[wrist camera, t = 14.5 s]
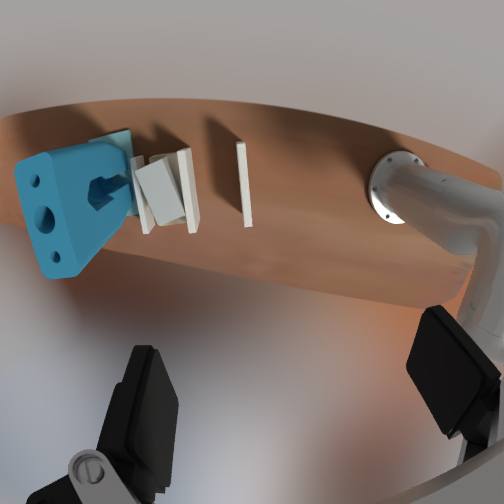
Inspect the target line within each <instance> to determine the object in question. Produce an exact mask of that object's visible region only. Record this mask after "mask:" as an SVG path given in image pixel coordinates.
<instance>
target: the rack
mask: <svg viewBox="0 0 504 504" xmlns="http://www.w3.org/2000/svg"><path fill="white" fill-rule="evenodd" d="M236 150H237V161H238V172H239V182H240V193H241V203H242V214H243V220H244V225H245V227H251V226H252V217H251V205H250V194H249V182H248V171H247V159H246V148H245V143H244V142H243V141H240V142H236ZM177 155H178V163H179V170H180V178H181V185H182V192H183V199H184V205H185V212H186V218H187V224H188V230H189V233H196V232H197V228H198V224H199V221H200V215H199V208H198V201H197V193H196V186H195V178H194V170H193V162H192V154H191V147H189V148H183V149H181V150H179V151H177ZM130 164H131V170H132V176H133V182H134V188H135V194H136V199H137V204H138V210H139V215H140V220H141V224H142V229H143V234H149V232H150V231H151V229H152V228H153V227H154V225H155V223H154V218H153V212H152V210H151V208H150V206H149V204H148V201H147V199H146V197H145V195H144V192H143V190H142V188H141V185H140V183H139V181H138V178H137V176H136V174H135V171H136V170H138V169H140V168H142V167H144V166H145V165H144V158H143V155H141V156H137V157H134V158H131V159H130Z"/></svg>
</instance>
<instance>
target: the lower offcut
mask: <svg viewBox="0 0 504 504" xmlns="http://www.w3.org/2000/svg"><path fill="white" fill-rule="evenodd" d="M164 157H167V159H168V161H169V164H170V166H171V169H172V171H173V174H174V176H175V178H176V181H177V183H178V186H179V188H180V190H181V193H182V195H183V192H182V185H181V178H180V170H179V163H178V155H177V152H172V153H166V154H160V155H154V156H152V157H150V158H149V163H150V164H151V163H153V162H155V161H158V160H160V159H162V158H164ZM181 223H187V218H186V215H185V216H182V217H180V218H177V219H174V220H172V221H170V222H167V223H165V224H162V225H160V226H165V225H173V224H181Z"/></svg>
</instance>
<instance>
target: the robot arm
mask: <svg viewBox="0 0 504 504" xmlns="http://www.w3.org/2000/svg"><path fill="white" fill-rule="evenodd" d="M373 187H374V189H373ZM368 193H369V199H370V203H371V205H372V207H373V209H374V211H375V212H376V213H377V214H378V215H379V216H380V217H381V218H382V219H384V220H385V221H387V222H390V223H394V224H401V223H407V224H408V225H410V226H411V227H413V228H414V229H416V230H417V231H419V232H420V233H422V234H423V235H425V236H426V237H428V238H429V239H431V240H432V241H433V242H435V243H436V244H438V245H439V246H441V247H442V248H444V249H445V250H446V251H448V252H450V253H452V254H455V255H461V256H464V255H471V254H475V253H477V256H476V260H475V263H474V268H473V271H472V274H471V277H470V281H469V283H468V286H467V289H466V291H465V294H464V297H463V299H462V302H461V305H460V308H459V311H458V314H457V318H456V320H455V319H454V318H453V317H452V316H451V315H450V314H449V313H448V312H447V311H446V310H445V309H444V308H443V307H442V306H441V305H436V306H432V307H428V308H426V310H425V312H424V313H423V314H422V316H421V319H420V323H419V326H418V329H417V333H416V336H415V339H414V343H413V346H412V349H411V351H410V354H409V357H408V360H407V363H406V369H407V372H408V374H409V375H410V377H411V379H412V380H413V382H414V384H415V385H416V387H417V389H418V391H419V392H420V394H421V396H422V397H423V399H424V401H425V403H426V404H427V406H428V408H429V409H430V411H431V413H432V415H433V417H434V419H435V421H436V422H437V424H438V426H439V428H440V430H441V432H442V433H443V434H445V435H447V437H448V439H449V440H450V439H452V438H454V437H456V436H457V435H459V434H460V433H462V435H463V441H462V446H461V451H460V454H459V459H458V462H457V466H456V467H455V468H453V469H451V470H449V471H447V472H446V473H443V474H441V475H440V476H437V477H436V478H433V479H431V480H429V481H427V482H425V483H422V484H421V485H418V486H416V487H413V488H411V489H408V490H406V491H404V492H401V493H398V494H396V495H393V496H391V497H388V498H385V499H382V500H380V501H376V502H374V503H370V504H504V377H503V379H502V380H500V379H499V378H500V376H501V373H500V372H499V371H498V369H497V368H496V367H495V365H494V364H493V363H492V362H491V360H492V361H494V362H496V363H498V364H500V365H503V366H504V192H501V191H498V190H494V189H491V188H488V187H484V186H482V185H479V184H476V183H473V182H470V181H468V180H465V179H462V178H459V177H456V176H453V175H451V174H448V173H445V172H442V171H438V170H435V169H432V168H429V167H426V166H425V165H424V163H423V162H422V161H421V160H420V158H418V157H417V156H416V155H414V154H412V153H410V152H406V151H394V152H391V153H389V154H386V155H385V156H384V157H382V158H381V159H380V160H379V161H378V162H377V164H376V165H375V167H374V168H373V170H372V173H371V175H370V179H369V186H368ZM178 406H179V404H178V398H177V396H176V393H175V391H174V388H173V386H172V384H171V381H170V379H169V376H168V374H167V371H166V369H165V366H164V363H163V361H162V358H161V356H160V353H159V351H158V349H154V348H153V347H152V346H151V345H136V346H134V348H133V350H132V353H131V356H130V359H129V363H128V365H127V368H126V371H125V374H124V377H123V380H122V382H120V383H117V384H116V386H115V389H114V391H113V395H112V397H111V401H110V404H109V407H108V410H107V413H106V417H105V420H104V423H103V427H102V430H101V434H100V437H99V441H98V444H97V448H96V450H83V451H80V452H78V453H77V454H76V455H74V456H73V458H72V459H71V461H70V463H69V465H68V473H69V474H67V475H66V476H64V477H62V478H60V479H58V480H57V481H55V482H53V483H51V484H49V485H47V486H45V487H43V488H41V489H40V490H38V491H36V492H34V493H32V494H31V495H30V496H29V497H28V499H27V502H26V504H154V501H155V493H165V487H169V486H170V483H171V473H172V462H173V452H174V442H175V433H176V424H177V415H178Z"/></svg>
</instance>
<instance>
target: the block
mask: <svg viewBox="0 0 504 504" xmlns="http://www.w3.org/2000/svg"><path fill="white" fill-rule="evenodd" d="M128 169H129V166H128V160H127V154H126V152H125V151H124V150H123V149H121V148H119V147H116V146H114V145H112V144H110V143H108V142H106V141H96V142H90V143H84V144H79V145H74V146H69V147H64V148H60V149H55V150H51V151H47V152H42V153H40V154H37V155H34V156H32V157H29V158H27V159H24V160H22V161H20V162H18V163H17V164H16V166H15V171H14V172H15V179H16V184H17V188H18V193H19V197H20V202H21V206H22V210H23V214H24V217H25V221H26V225H27V228H28V232H29V235H30V238H31V241H32V244H33V247H34V250H35V254H36V257H37V259H38V262H39V265H40V268H41V270H42V273H43V274H44V276H45V277H47V278H49V279H56V278H66V277H74V276H77V275H78V274H79V273H80V272H81V270H82V269H83V268H84V267H85V266H86V265H87V263H88V262H89V261H90V260H91V259H92V257H94V255H95V254H96V253H97V252H98V251H99V250H100V249H101V248H102V246H103V245H104V244H105V243H106V242H107V241H108V240H109V239H110V238H111V237H112V236H113V234H114V233H115V232H116V231H117V230H118V229H119V228H120V227H121V226H122V224H123V221H124V219H125V217H126V215H127V213H128V210H129V208H130V206H131V204H132V202H133V200H134V194H133V189H132V184H131V182H128V183H123V184H118V185H115V184H113V183H112V182H111V179H110V178H111V177H113V176H115V175H117V174H119V173H121V172H123V171H125V170H128Z"/></svg>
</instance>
